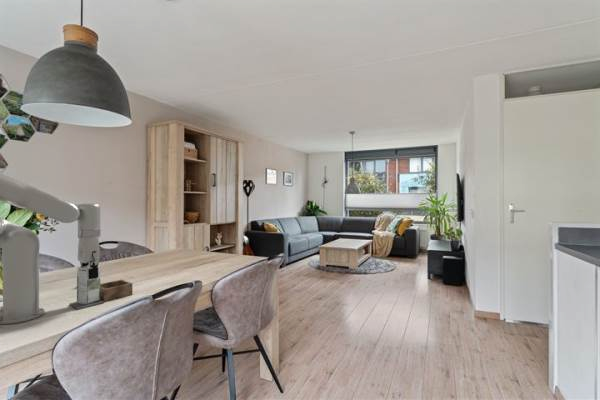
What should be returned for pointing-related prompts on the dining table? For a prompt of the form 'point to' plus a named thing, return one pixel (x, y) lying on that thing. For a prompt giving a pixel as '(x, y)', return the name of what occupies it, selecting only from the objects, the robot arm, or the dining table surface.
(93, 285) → the syrup box
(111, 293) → the wooden cubby shelf
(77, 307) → the mat
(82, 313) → the dining table surface
